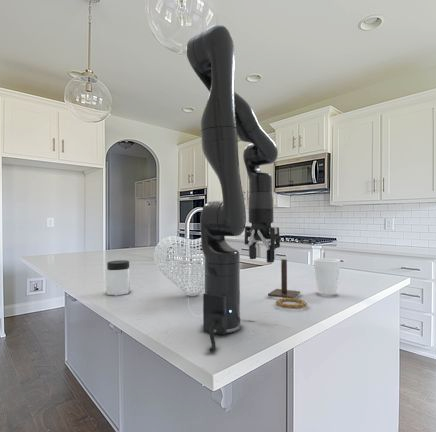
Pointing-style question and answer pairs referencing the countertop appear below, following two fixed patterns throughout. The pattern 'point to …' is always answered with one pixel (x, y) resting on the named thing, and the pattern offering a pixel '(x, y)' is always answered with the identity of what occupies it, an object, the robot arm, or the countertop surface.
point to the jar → (118, 277)
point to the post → (284, 284)
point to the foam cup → (326, 275)
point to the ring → (291, 306)
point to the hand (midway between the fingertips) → (261, 260)
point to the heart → (170, 239)
